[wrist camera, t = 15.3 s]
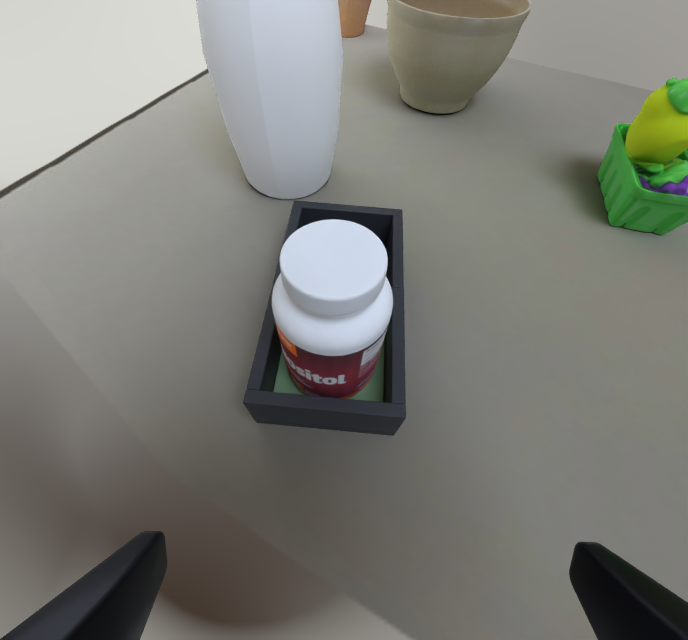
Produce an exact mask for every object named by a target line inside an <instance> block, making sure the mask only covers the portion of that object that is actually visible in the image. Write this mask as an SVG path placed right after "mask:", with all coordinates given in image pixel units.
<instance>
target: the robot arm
mask: <svg viewBox="0 0 688 640" xmlns="http://www.w3.org/2000/svg"><path fill="white" fill-rule="evenodd" d="M166 568H167V555H166V545H165V536H164V534H163V532H160V531H144V532H142V533H140V534H139V535H137V536H136V537H135V538H133V539H132V540H131V541H129V542H128V543H127V544H125V545H124V546H123V547H122V548H120V549H119V550H117V551H116V552H115V553H113V554H112V555H111V556H109V557H108V558H107V559H105V560H104V561H103V562H102V563H100V564H99V565H98V566H96V567H95V568H94V569H92V570H91V571H90V572H88V573H87V574H86V575H84V576H83V577H82V578H80V579H79V580H78V581H77V582H75V583H74V584H72V585H71V586H70V587H69V588H67V589H66V590H65V591H63V592H62V593H61V594H59V595H58V596H57V597H55V598H54V599H53V600H51V601H50V602H49V603H48V604H46V605H45V606H43V607H42V608H41V609H39V611H37V612H36V613H34V614H33V615H32V616H30V617H29V618H28V619H26V620H25V621H24V622H22V623H21V624H20V625H18V626H17V627H16V628H14V629H13V630H12V631H10V632H9V633H8V634H6V635H5V636H4V637H3V638H1V639H0V640H140V637H141V635H142V632H143V630H144V627H145V625H146V622H147V619H148V617H149V614H150V612H151V609H152V606H153V604H154V601H155V599H156V596H157V594H158V591H159V588H160V586H161V583H162V581H163V578H164V575H165V572H166ZM569 575H570V580H571V583H572V586H573V588H574V590H575V592H576V594H577V596H578V599H579V601H580V603H581V605H582V607H583V609H584V611H585V613H586V615H587V618H588V620H589V622H590V624H591V626H592V628H593V630H594V632H595V634H596V637H597V639H598V640H688V603H687V602H686V601H684V600H683V599H681V598H680V597H679V596H677V595H676V594H674V593H673V592H671V591H670V590H668V589H667V588H665V587H664V586H662V585H661V584H659V583H658V582H656V581H655V580H653V579H652V578H650V577H649V576H647V575H646V574H644V573H643V572H641V571H640V570H638V569H637V568H635V567H634V566H632V565H631V564H629V563H628V562H626V561H625V560H623V559H622V558H620V557H619V556H617V555H616V554H614V553H613V552H611V551H610V550H608V549H607V548H605V547H604V546H602V545H601V544H599V543H596V542H578V543H577V544H576V545H575V548H574V553H573V557H572V561H571V565H570V570H569Z"/></svg>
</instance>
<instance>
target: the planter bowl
mask: <svg viewBox="0 0 688 640" xmlns="http://www.w3.org/2000/svg"><path fill="white" fill-rule="evenodd" d="M387 3H388V13H387V40H388V49H389V54H390V59H391V63H392V67H393V69H394V72H395V75H396V77H397V80H398V82H399V84H400V96H401V98H402V99H403V101H404V102H406V103H407V104H408V105H410V106H411V107H413V108H416V109H419V110H422V111H425V112H430V113H453V112H457V111H460V110H462V109H463V108H465V107H466V106H467V104H468V102H469V100H470V98H471V96H473V95H474V94H475V93H476V92H477V91H479V90H480V89H481V88H482V87H483V86H484V85H485V84H486V83H487V82H488V81H489V80H490V78H491V77H492V76H493V75H494V74H495V72H496V71H497V70H498V68H499V67H500V66H501V64H502V63H503V61H504V60H505V58H506V57H507V55H508V53H509V51H510V49H511V48H512V46H513V44H514V42H515V40H516V37H517V35H518V33H519V30H520V28H521V26H522V24H523V22H524V21H525V19H526V18H527V16H528V14H529V12H530V9H531V6H532V4H531V0H387Z"/></svg>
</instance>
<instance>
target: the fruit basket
mask: <svg viewBox="0 0 688 640" xmlns="http://www.w3.org/2000/svg"><path fill="white" fill-rule="evenodd" d="M612 137H613V138H612V141H611V143H610V145H609V148H608V150H607V152H606V155H605V157H604V159H603V162H602V164H601V166H600V169H599V171H598V174H597V176H598V179H599V182H600V183H601V186H600V187H601V191H602V195H603V196H604V198H605V199H604V203H605V207H606V210H607V211H608V219H609V223H610V225H612V226H622V227H624V228H627V229H633V230H638V231H643V232H653V233H656V234H660V235H663V234H665V233H667V232H669V231H671V230H673V229H675V228H677V227H679V226H680V225H682V224H684V223H686V222H688V78H687V79H683V80H680V81H677V79H676V78H672V79H670V80H668V81H667V82H666V85H665V86H663V87H661V88H659V89H658V90H656V91H654V92H653V93H652V94H651V95H649V97H648V98H647V99H646V100H645V102H644V104H643V106H642V109H641V111H640V113H639V114H638V115H637V117H636V118H635V119H634V121H633V122H632V123H631V124H626V123H619V124H617V125H616V127H615V130H614V132H613V135H612Z"/></svg>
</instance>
